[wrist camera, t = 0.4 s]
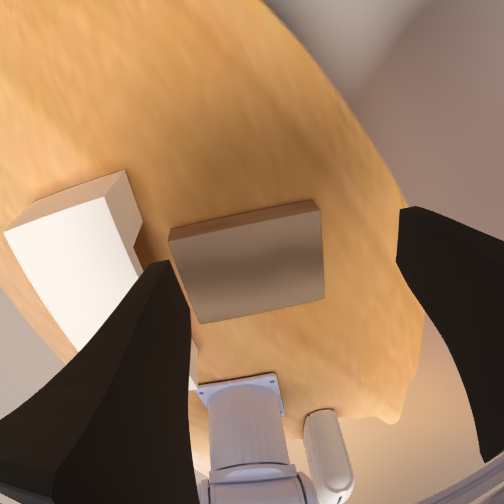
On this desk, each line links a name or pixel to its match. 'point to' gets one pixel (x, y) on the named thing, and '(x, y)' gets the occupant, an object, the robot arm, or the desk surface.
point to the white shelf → (83, 254)
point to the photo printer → (328, 457)
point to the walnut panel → (251, 261)
